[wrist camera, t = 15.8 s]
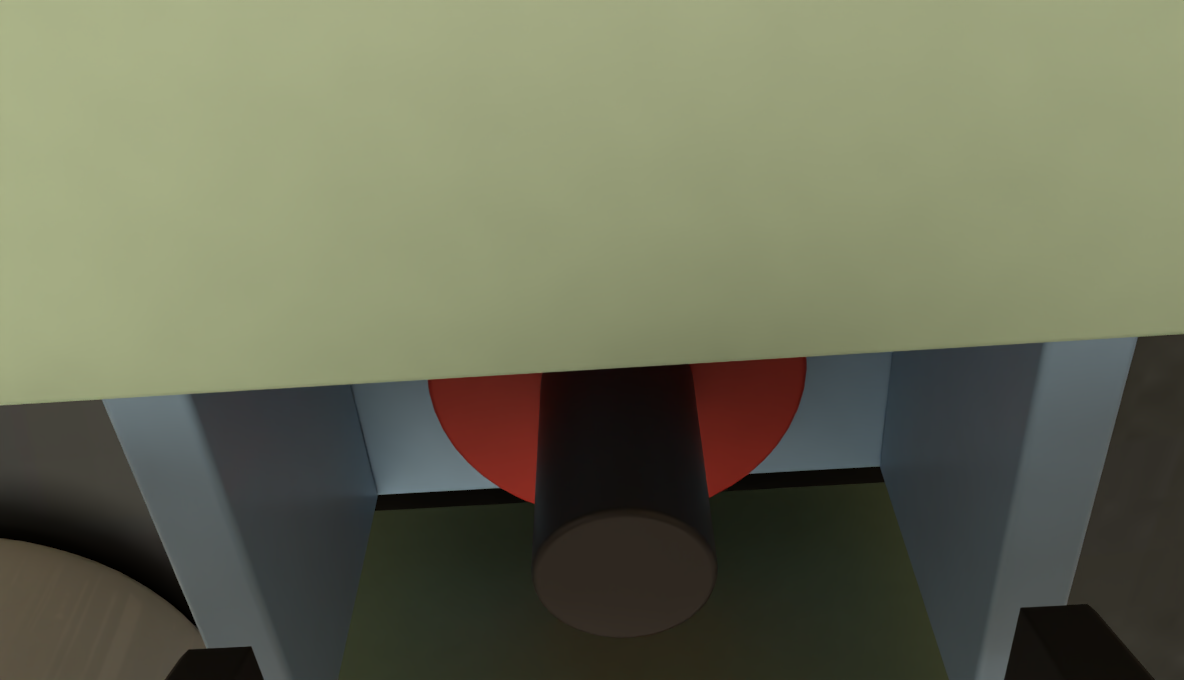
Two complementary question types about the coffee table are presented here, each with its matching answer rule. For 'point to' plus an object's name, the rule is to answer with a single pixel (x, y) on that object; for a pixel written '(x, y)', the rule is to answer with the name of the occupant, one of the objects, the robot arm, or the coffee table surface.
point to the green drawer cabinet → (572, 185)
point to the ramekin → (83, 620)
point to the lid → (622, 475)
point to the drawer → (740, 518)
